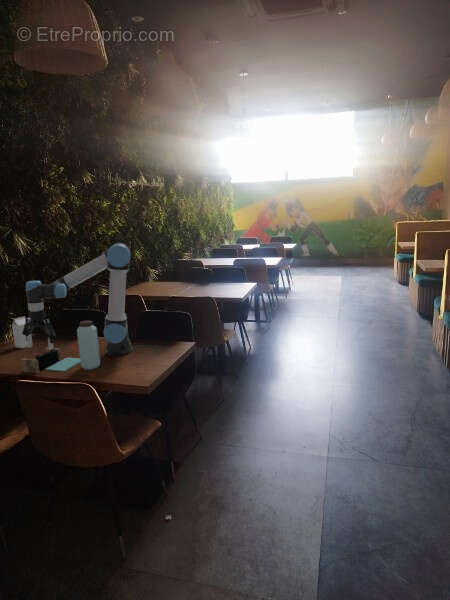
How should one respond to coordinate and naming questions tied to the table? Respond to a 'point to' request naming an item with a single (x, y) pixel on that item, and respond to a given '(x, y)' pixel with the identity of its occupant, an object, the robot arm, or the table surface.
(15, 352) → the table surface
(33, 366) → the slot block
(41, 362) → the camera
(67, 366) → the mat
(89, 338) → the water bottle
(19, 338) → the milk carton
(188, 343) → the table surface
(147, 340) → the table surface
